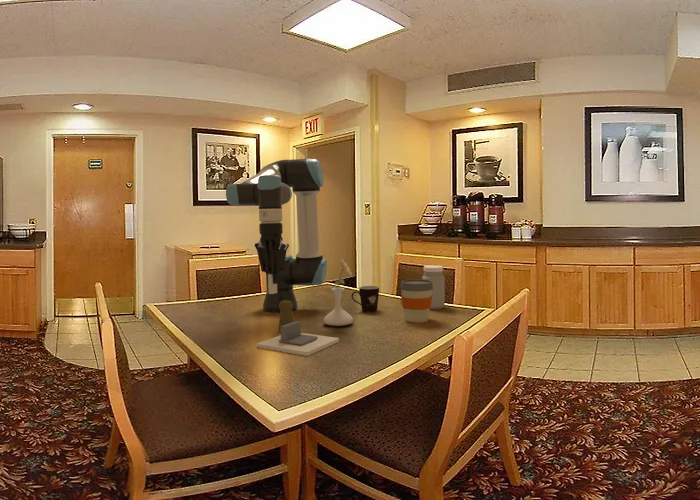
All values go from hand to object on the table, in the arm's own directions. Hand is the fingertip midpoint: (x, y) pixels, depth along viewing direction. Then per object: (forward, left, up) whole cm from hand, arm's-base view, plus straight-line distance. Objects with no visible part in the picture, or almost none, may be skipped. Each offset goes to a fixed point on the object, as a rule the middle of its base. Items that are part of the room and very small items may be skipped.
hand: (272, 293), depth 167 cm
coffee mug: (+4, +56, -16) cm, 59 cm away
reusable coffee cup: (+30, +50, -16) cm, 61 cm away
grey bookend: (+10, 0, -15) cm, 18 cm away
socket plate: (+10, 0, -16) cm, 19 cm away
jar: (+27, +75, -16) cm, 81 cm away
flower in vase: (+7, +30, -16) cm, 35 cm away
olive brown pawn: (-5, +13, -16) cm, 22 cm away
